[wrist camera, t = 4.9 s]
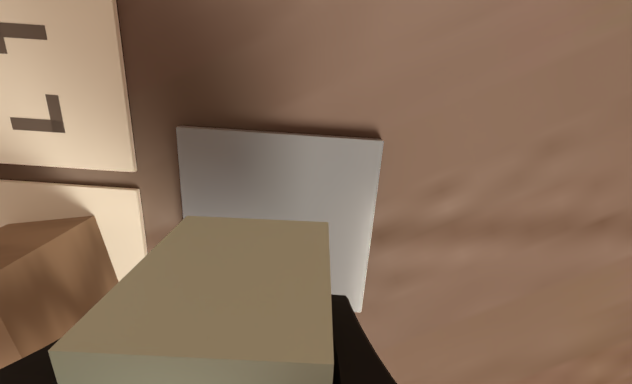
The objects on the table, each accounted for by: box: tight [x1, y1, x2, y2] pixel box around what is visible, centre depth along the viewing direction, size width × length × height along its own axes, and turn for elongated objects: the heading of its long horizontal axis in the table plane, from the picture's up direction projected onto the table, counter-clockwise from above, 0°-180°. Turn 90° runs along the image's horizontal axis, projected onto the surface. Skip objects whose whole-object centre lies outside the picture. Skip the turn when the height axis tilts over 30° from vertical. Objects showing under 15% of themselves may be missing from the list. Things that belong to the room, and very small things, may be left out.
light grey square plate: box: [176, 126, 384, 312], centre depth 17 cm, size 10×10×1 cm
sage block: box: [48, 216, 334, 384], centre depth 9 cm, size 5×5×6 cm
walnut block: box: [0, 216, 118, 369], centre depth 15 cm, size 5×5×6 cm
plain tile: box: [0, 179, 148, 282], centre depth 18 cm, size 9×9×1 cm
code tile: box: [0, 0, 137, 172], centre depth 15 cm, size 9×9×1 cm
